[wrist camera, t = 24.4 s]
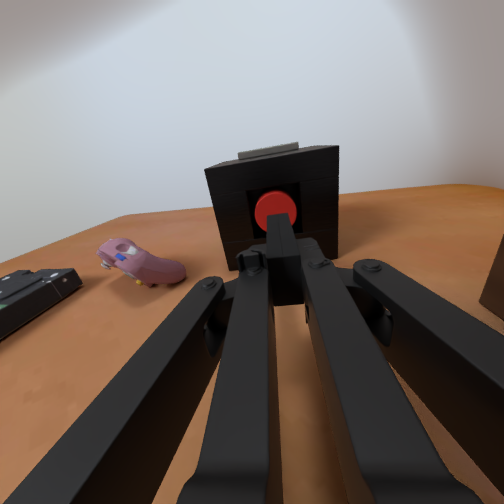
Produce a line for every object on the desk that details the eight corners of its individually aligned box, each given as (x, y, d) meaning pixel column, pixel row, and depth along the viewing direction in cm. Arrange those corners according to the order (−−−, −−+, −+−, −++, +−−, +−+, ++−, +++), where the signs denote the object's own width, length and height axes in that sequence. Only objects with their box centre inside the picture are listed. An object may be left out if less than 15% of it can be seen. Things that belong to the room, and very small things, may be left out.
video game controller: (130, 283, 29) (79, 252, 24) (152, 256, 31) (109, 222, 26) (167, 307, 23) (109, 271, 18) (193, 271, 24) (146, 231, 20)
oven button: (295, 222, 23) (292, 185, 22) (298, 230, 21) (295, 189, 19) (258, 227, 24) (253, 191, 22) (258, 236, 22) (251, 196, 20)
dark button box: (319, 226, 32) (316, 138, 27) (340, 258, 23) (342, 134, 18) (238, 237, 33) (221, 155, 28) (228, 271, 24) (201, 159, 19)
